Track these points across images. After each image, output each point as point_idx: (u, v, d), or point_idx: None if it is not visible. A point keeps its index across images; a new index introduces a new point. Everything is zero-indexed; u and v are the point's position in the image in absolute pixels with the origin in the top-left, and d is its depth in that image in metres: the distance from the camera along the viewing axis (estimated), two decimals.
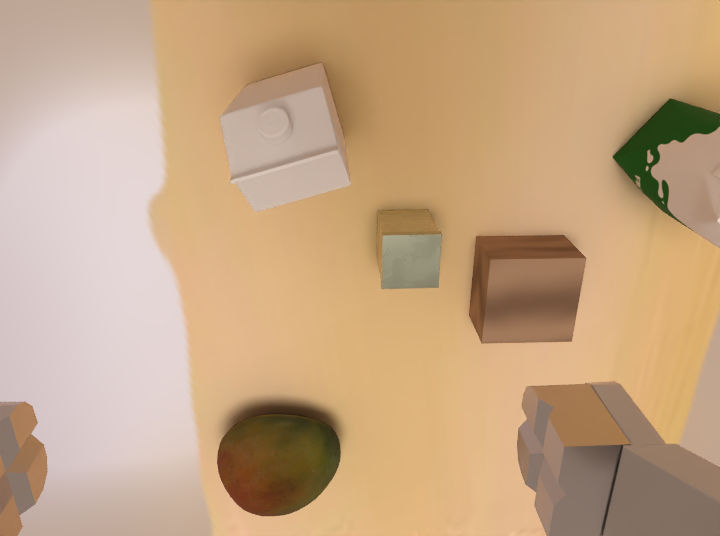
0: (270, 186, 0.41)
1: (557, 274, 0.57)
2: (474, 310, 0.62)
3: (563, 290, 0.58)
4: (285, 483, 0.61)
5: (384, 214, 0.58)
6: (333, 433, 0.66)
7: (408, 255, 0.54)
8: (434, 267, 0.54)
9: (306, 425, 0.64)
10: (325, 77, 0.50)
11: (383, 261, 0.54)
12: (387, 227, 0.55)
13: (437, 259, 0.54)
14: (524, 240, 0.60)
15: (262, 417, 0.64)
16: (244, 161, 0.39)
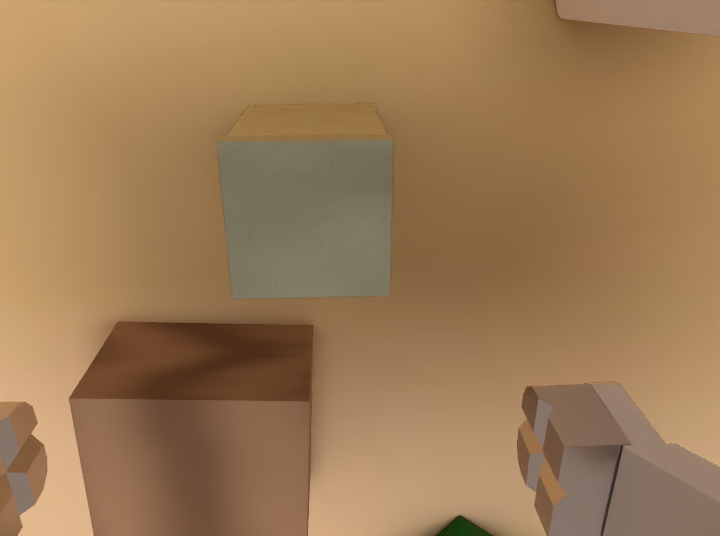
0: None
1: (268, 526, 0.26)
2: (141, 345, 0.26)
3: None
4: None
5: None
6: None
7: (329, 215, 0.19)
8: (292, 284, 0.20)
9: None
10: None
11: (310, 144, 0.18)
12: None
13: (317, 290, 0.20)
14: None
15: None
16: None
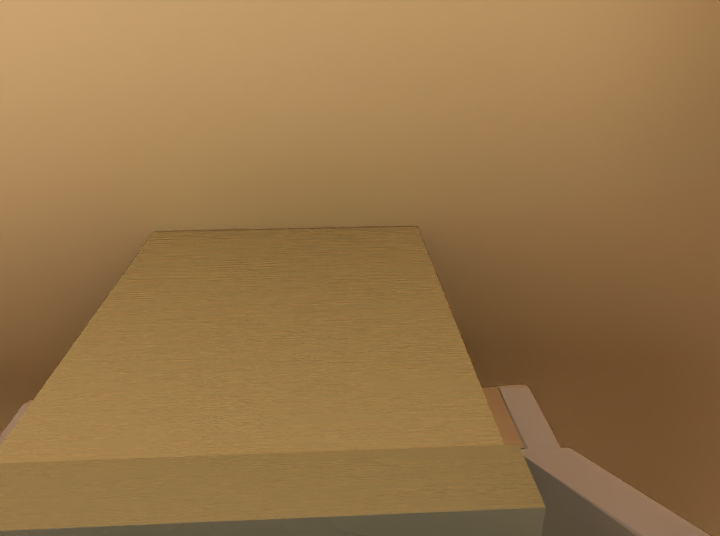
0: None
1: None
2: None
3: None
4: None
5: None
6: None
7: None
8: None
9: None
10: None
11: (253, 530, 0.05)
12: None
13: None
14: None
15: None
16: None
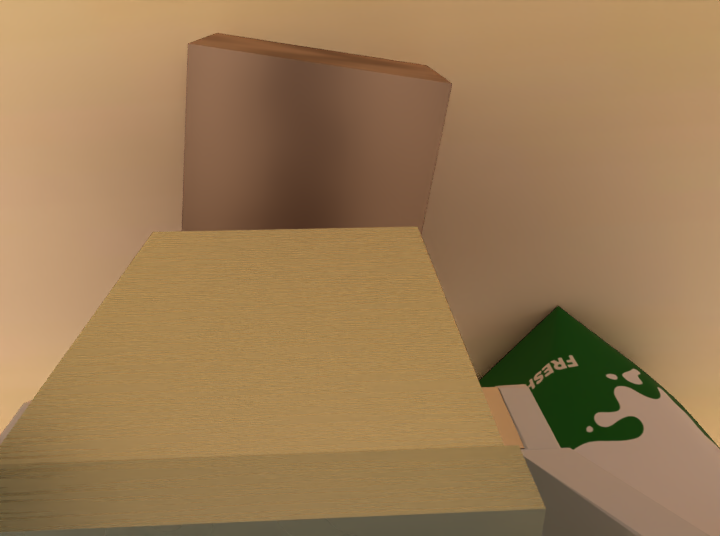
0: None
1: None
2: (250, 42, 0.24)
3: None
4: None
5: None
6: None
7: None
8: None
9: None
10: None
11: (252, 532, 0.05)
12: None
13: None
14: None
15: None
16: None
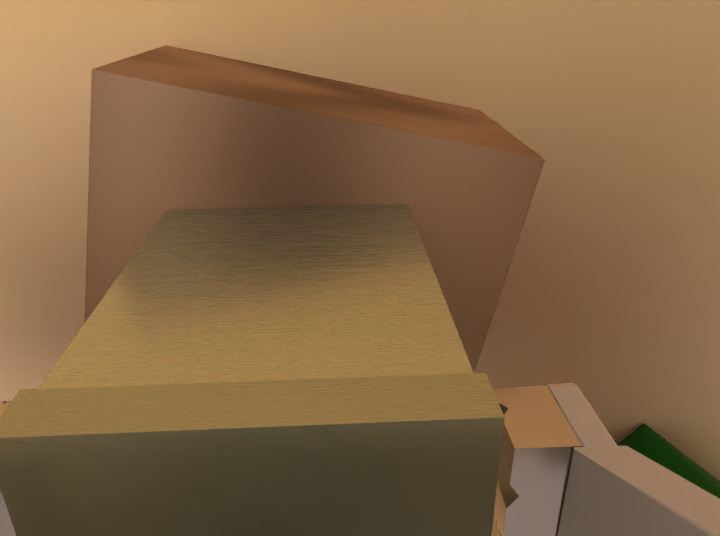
0: None
1: None
2: (214, 65, 0.15)
3: None
4: None
5: None
6: None
7: None
8: None
9: None
10: None
11: (262, 436, 0.06)
12: None
13: None
14: None
15: None
16: None
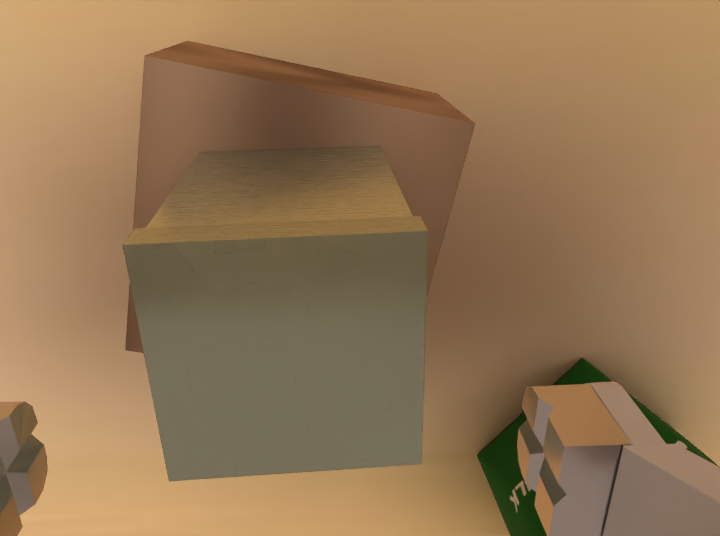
0: None
1: None
2: (227, 55, 0.19)
3: None
4: None
5: None
6: None
7: (322, 352, 0.11)
8: (265, 455, 0.12)
9: None
10: None
11: (285, 243, 0.10)
12: None
13: (306, 462, 0.12)
14: None
15: None
16: None
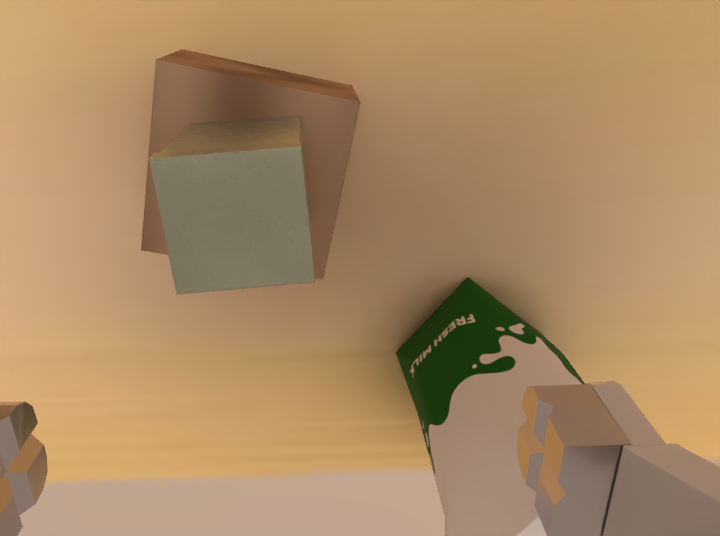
0: None
1: None
2: (208, 59, 0.30)
3: None
4: None
5: (301, 133, 0.27)
6: None
7: (253, 215, 0.22)
8: (228, 277, 0.23)
9: None
10: None
11: (229, 155, 0.21)
12: None
13: (250, 281, 0.23)
14: None
15: None
16: None
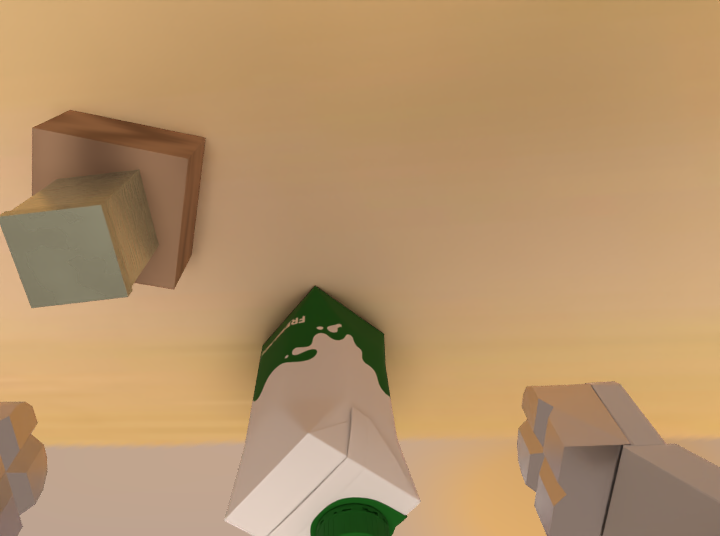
0: None
1: None
2: (84, 120, 0.39)
3: None
4: None
5: (135, 184, 0.36)
6: None
7: (76, 252, 0.31)
8: (65, 295, 0.32)
9: None
10: None
11: (52, 212, 0.30)
12: (116, 202, 0.33)
13: (82, 298, 0.32)
14: (194, 205, 0.43)
15: None
16: None
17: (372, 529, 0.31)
